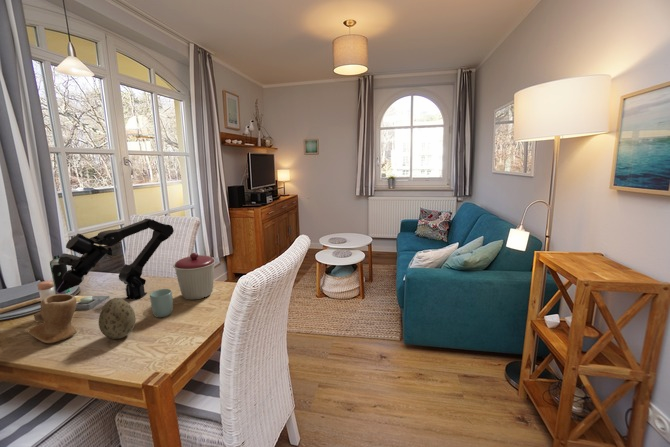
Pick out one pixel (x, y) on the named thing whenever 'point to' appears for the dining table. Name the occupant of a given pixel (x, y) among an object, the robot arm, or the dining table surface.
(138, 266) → the robot arm
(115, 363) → the dining table surface
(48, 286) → the white pink-capped bottle
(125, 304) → the decorative egg
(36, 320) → the stand
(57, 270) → the spray can
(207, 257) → the canister
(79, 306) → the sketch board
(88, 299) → the button
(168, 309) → the cup
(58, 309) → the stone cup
